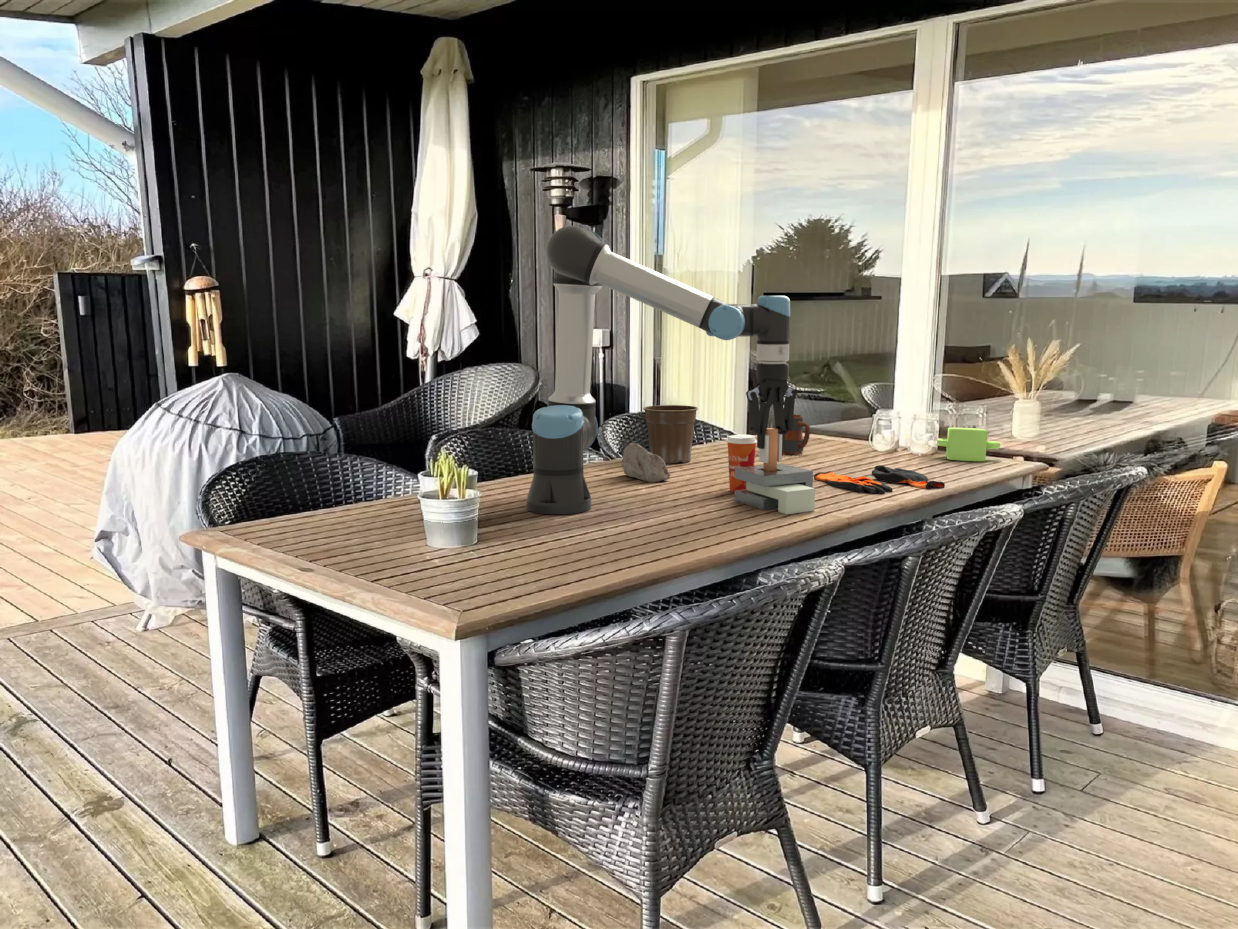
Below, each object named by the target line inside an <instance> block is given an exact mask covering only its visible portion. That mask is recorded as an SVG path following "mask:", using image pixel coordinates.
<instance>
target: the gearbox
mask: <svg viewBox="0 0 1238 929" xmlns="http://www.w3.org/2000/svg"><path fill="white" fill-rule="evenodd" d="M988 432H989V431H988V430H986V429H984V428H973V427H972V428H969V427H947V438H937V439H936V446H938V447H946V452H945V457H946V459H947V460H949V461H950V460H951V461H960V462H961V461H962V462H963V461H964V462H986V459H987V458H986V457H987V450H993V449H1000V447H1001V443H1000V442H999V441H993V440H990V441H989V440H988V434H989V433H988Z"/></svg>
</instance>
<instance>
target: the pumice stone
mask: <svg viewBox="0 0 1238 929" xmlns="http://www.w3.org/2000/svg"><path fill="white" fill-rule="evenodd" d="M621 461H622V463H621V466H622V469H623V474H624V475H625V476H627V477H629V478H636V479H638V480H641V481H644V482H648V483H657V482H661V481H665V480H666V481H667V480H669V479H670V478H671V473H670V471H669V469H668V467H667V464H665V462H664V460H663V459H661V457H660V456H658V455H654V454H652V453H650V451H648V450H647V449H646V448H645V447H643V446H642V445H640V444H639V443H636V442H630V443H628V445H626V446H625V448H624V449H623V455H622V459H621Z"/></svg>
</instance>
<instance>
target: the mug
mask: <svg viewBox="0 0 1238 929" xmlns="http://www.w3.org/2000/svg"><path fill="white" fill-rule="evenodd" d="M804 428H805V429H804ZM803 429H804V430H805V431H804V436H803ZM810 435H811V426H810V425H809V423H807V422H804V417H803V415H800V414H793V425H792V430H791V431H788V433H787V434H785V439H784V447H782V455H793V456H794V455H801V454H803V451H804V448H805V447H806V446H807V444H808V443H809V440H810Z"/></svg>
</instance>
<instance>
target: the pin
mask: <svg viewBox="0 0 1238 929" xmlns="http://www.w3.org/2000/svg"><path fill="white" fill-rule="evenodd" d="M766 435H769V456H768V463H764V462H763V465H764V466H763V471H766V472H774V471H777V464H778V461H777V451H778V429H776V427H775V428H774V427H767V431H766Z"/></svg>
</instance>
